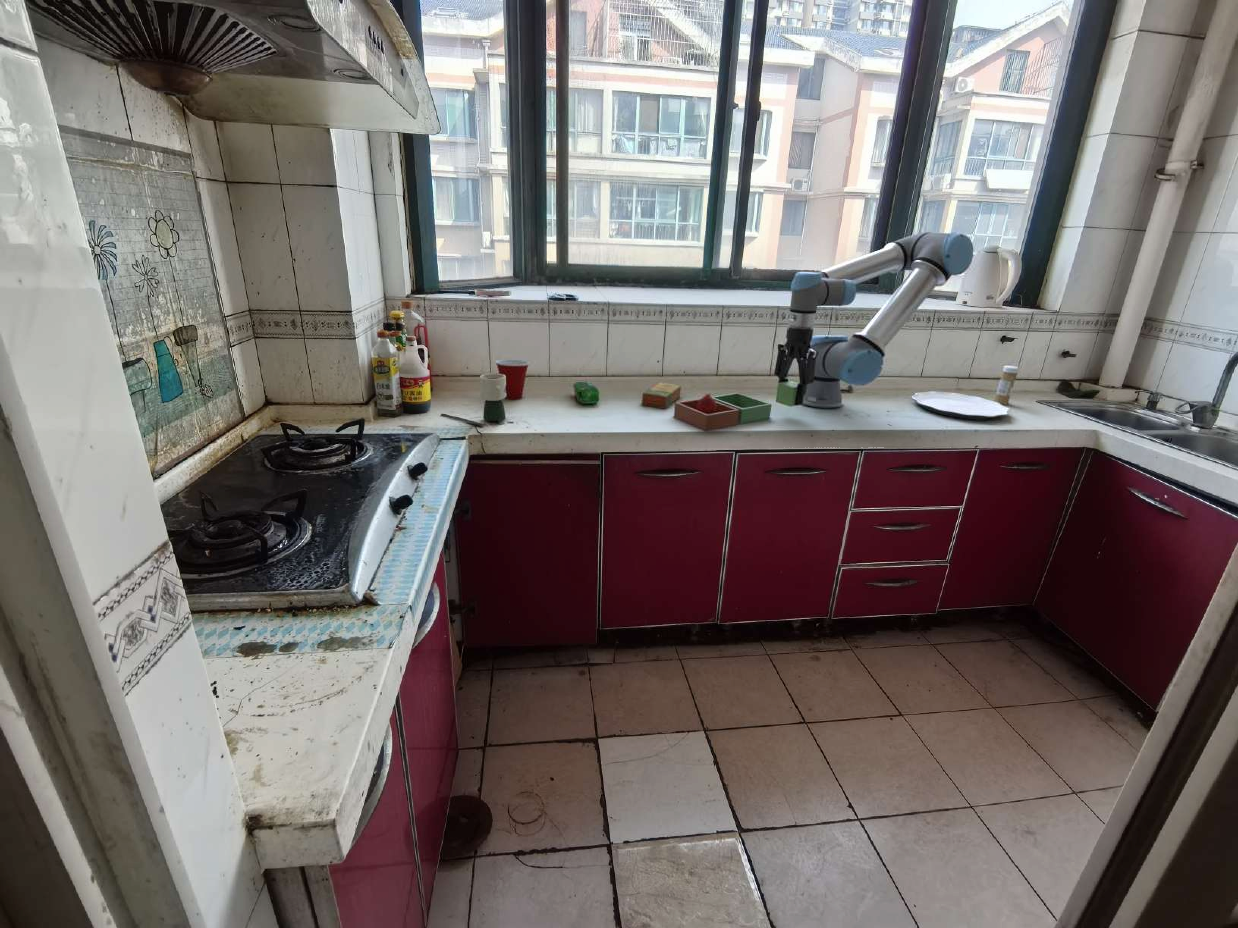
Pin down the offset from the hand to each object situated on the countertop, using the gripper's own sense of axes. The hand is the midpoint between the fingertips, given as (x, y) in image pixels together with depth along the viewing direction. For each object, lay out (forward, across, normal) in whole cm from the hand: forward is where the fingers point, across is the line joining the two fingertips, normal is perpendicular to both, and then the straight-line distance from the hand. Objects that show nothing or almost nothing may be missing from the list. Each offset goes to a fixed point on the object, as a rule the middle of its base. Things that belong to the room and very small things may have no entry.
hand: (789, 401), depth 184 cm
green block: (0, 0, 0) cm, 0 cm away
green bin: (+5, -9, -12) cm, 16 cm away
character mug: (+4, -37, -82) cm, 91 cm away
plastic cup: (+4, -57, -68) cm, 88 cm away
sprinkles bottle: (+7, +24, +86) cm, 90 cm away
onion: (+4, -9, -26) cm, 28 cm away
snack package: (+4, -44, -48) cm, 65 cm away
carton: (+5, -32, -26) cm, 41 cm away
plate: (+6, +21, +62) cm, 66 cm away
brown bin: (+5, -9, -26) cm, 28 cm away
